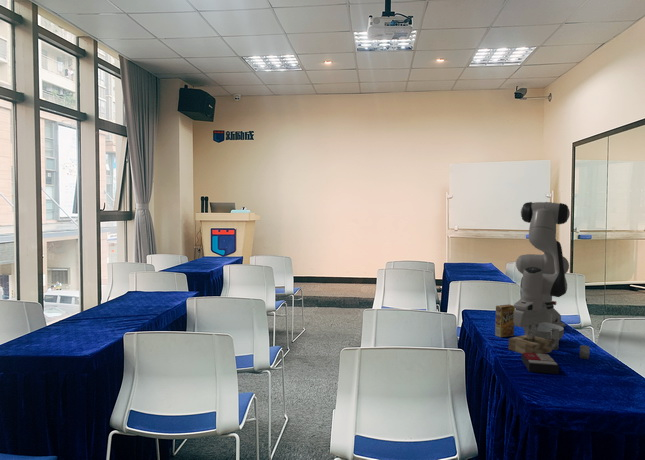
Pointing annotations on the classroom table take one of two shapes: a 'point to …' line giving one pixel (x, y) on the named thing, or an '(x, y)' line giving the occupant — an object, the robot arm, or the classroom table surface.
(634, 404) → the classroom table surface
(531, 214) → the robot arm
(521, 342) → the block
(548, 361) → the calculator
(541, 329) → the cereal bowl
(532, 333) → the long pin
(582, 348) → the short pin
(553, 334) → the medium pin
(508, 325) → the candy box
